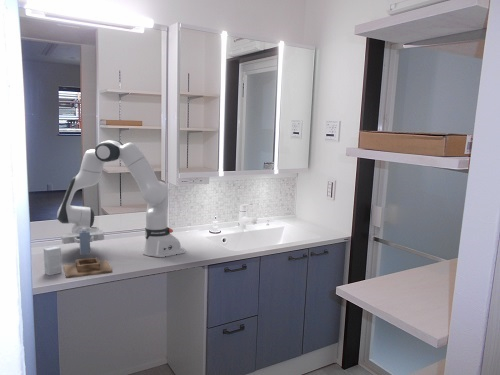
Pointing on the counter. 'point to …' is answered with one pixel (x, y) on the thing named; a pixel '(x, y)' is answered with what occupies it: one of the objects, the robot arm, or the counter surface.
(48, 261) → the skincare box
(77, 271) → the bottle caddy
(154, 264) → the counter surface
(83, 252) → the soap bottle
